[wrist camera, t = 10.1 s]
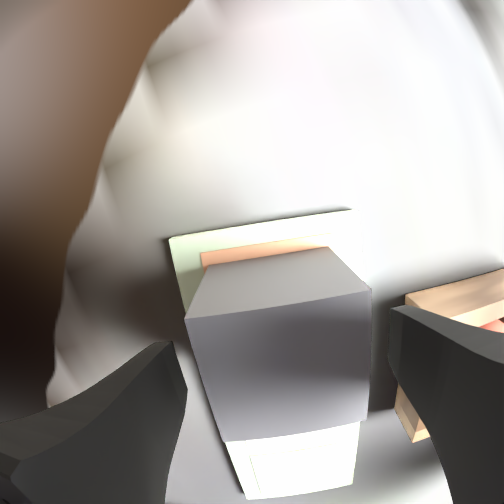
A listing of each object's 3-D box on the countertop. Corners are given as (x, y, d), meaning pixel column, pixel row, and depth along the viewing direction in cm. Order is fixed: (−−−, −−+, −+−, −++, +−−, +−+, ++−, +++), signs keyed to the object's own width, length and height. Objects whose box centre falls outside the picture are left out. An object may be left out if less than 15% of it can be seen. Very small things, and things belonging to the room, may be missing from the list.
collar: (508, 266, 13) (543, 283, 10) (488, 372, 15) (511, 396, 12) (405, 294, 14) (437, 321, 11) (394, 409, 16) (412, 443, 13)
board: (354, 209, 13) (359, 211, 12) (350, 478, 18) (352, 485, 17) (172, 237, 13) (167, 240, 12) (247, 493, 18) (246, 500, 17)
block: (328, 246, 13) (371, 289, 8) (335, 348, 14) (366, 419, 9) (208, 264, 13) (183, 318, 8) (231, 364, 14) (223, 442, 9)
